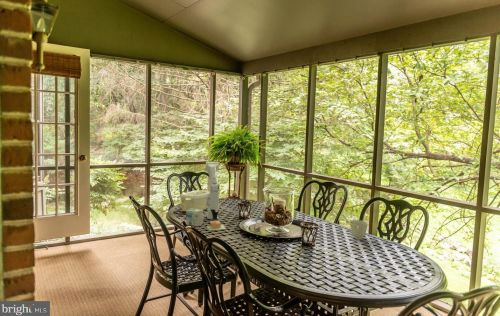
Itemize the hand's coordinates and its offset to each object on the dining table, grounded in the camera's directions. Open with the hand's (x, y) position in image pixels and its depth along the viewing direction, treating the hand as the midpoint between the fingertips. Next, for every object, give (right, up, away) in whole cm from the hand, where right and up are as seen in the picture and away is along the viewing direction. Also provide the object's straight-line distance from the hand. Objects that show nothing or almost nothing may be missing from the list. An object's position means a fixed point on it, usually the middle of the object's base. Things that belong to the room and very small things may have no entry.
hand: (214, 219), depth 250 cm
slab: (-1, -3, +2) cm, 4 cm away
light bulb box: (-15, -5, +6) cm, 17 cm away
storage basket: (-21, 0, +49) cm, 53 cm away
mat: (+1, -5, -3) cm, 6 cm away
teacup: (+94, -8, -25) cm, 98 cm away
